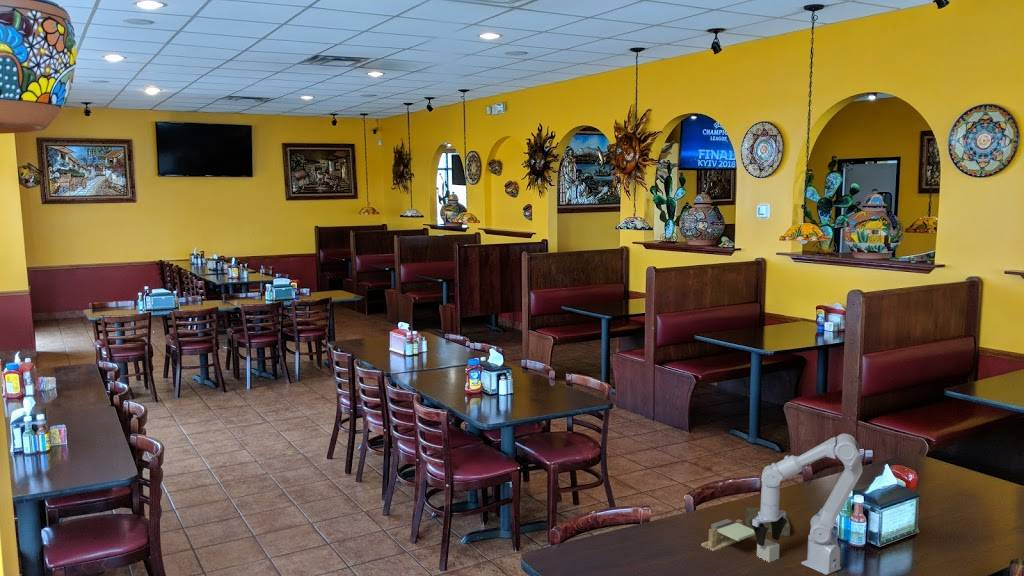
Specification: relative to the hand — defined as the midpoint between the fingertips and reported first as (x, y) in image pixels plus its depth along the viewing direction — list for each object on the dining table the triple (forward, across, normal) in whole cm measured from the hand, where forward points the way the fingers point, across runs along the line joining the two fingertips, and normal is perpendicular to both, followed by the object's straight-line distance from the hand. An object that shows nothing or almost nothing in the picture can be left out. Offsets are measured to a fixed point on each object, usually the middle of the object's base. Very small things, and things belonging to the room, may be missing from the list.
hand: (768, 542), depth 262 cm
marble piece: (+6, -21, -17) cm, 28 cm away
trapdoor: (0, +4, -11) cm, 12 cm away
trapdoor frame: (+5, +4, -16) cm, 17 cm away
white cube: (+3, 0, 0) cm, 3 cm away
